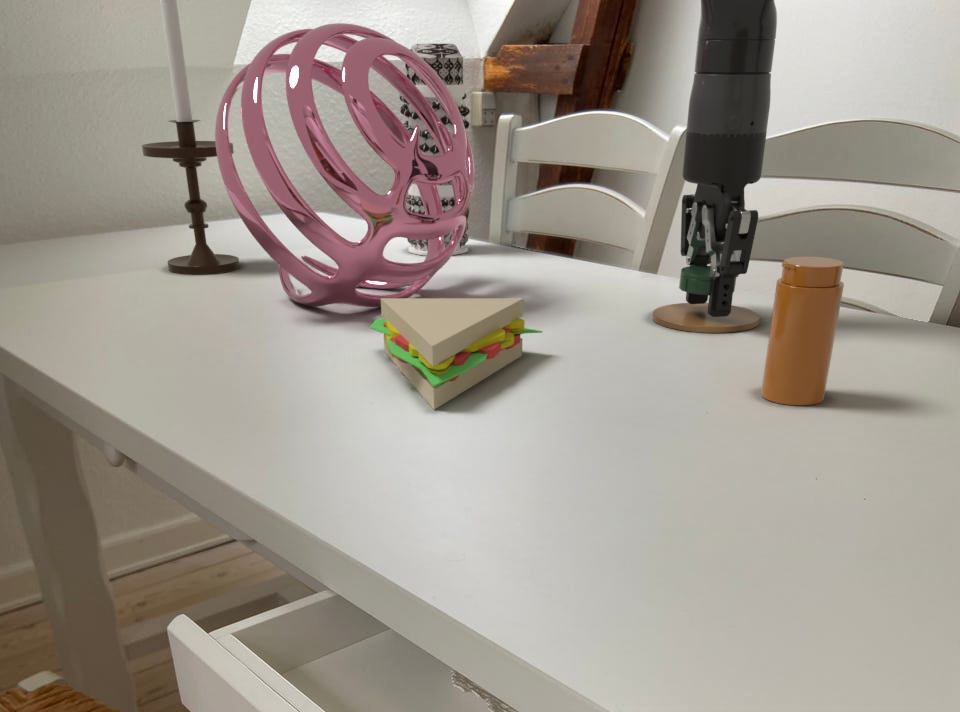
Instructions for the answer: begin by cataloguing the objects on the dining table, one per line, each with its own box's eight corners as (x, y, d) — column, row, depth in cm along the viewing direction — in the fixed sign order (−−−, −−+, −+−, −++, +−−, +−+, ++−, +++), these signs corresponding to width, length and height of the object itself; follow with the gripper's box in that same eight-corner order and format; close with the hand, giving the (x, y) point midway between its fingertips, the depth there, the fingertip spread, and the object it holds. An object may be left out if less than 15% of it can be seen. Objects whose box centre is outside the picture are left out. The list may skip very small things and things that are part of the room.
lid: (703, 297, 100) (705, 279, 99) (667, 286, 104) (669, 268, 103) (745, 292, 102) (748, 274, 101) (709, 281, 106) (711, 263, 106)
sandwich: (307, 400, 81) (302, 338, 79) (389, 341, 98) (386, 288, 95) (490, 416, 78) (490, 351, 75) (543, 352, 94) (545, 297, 91)
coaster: (709, 303, 111) (709, 298, 111) (781, 324, 103) (782, 318, 103) (631, 316, 107) (631, 310, 106) (700, 338, 98) (701, 332, 98)
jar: (791, 384, 85) (812, 253, 80) (837, 399, 81) (862, 263, 76) (748, 393, 83) (766, 259, 77) (792, 409, 79) (815, 270, 74)
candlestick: (143, 270, 129) (88, -61, 111) (204, 257, 137) (162, -54, 119) (204, 278, 124) (157, -66, 106) (264, 264, 132) (229, -58, 114)
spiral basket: (143, 101, 110) (262, -84, 89) (352, 154, 128) (490, 10, 108) (196, 343, 107) (330, 209, 87) (401, 360, 126) (551, 253, 106)
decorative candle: (399, 246, 144) (391, 43, 131) (462, 243, 146) (460, 43, 133) (411, 257, 136) (403, 43, 123) (477, 254, 138) (476, 43, 125)
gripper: (797, 132, 90) (770, 323, 99) (733, 122, 102) (714, 293, 111) (718, 133, 89) (698, 327, 98) (663, 123, 101) (649, 296, 110)
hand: (707, 308), depth 104 cm, fingers closed on lid, 5 cm apart
